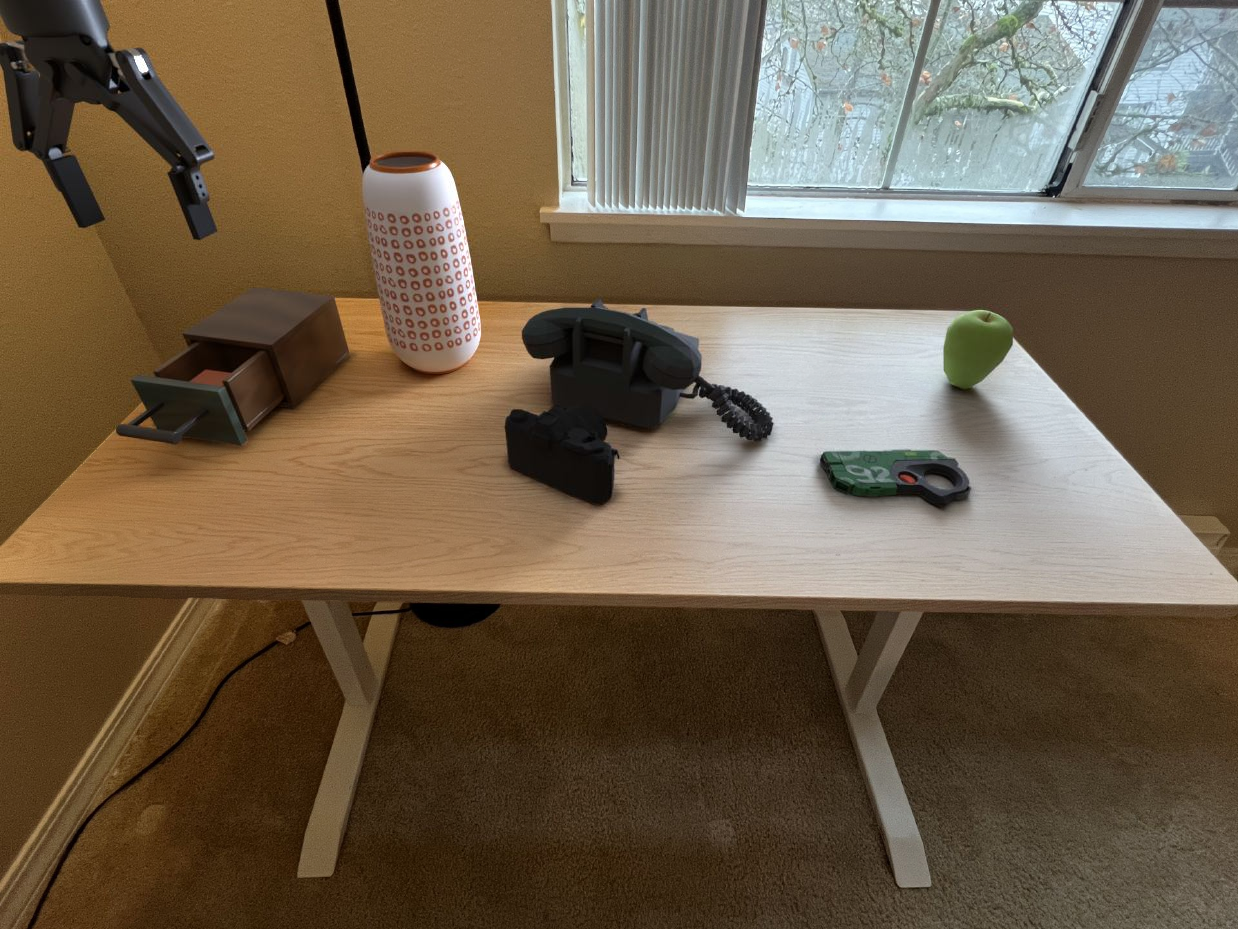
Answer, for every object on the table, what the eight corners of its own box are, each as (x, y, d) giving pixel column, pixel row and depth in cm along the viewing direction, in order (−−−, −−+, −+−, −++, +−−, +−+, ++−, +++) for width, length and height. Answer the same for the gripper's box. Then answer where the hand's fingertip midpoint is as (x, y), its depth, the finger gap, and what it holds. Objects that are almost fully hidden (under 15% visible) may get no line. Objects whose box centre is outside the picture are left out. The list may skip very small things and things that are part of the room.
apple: (928, 364, 99) (955, 294, 92) (987, 376, 97) (1019, 304, 90) (928, 393, 93) (957, 320, 86) (992, 405, 91) (1026, 332, 83)
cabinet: (294, 408, 86) (271, 344, 80) (210, 396, 88) (181, 333, 82) (350, 355, 97) (334, 295, 91) (274, 345, 99) (253, 286, 93)
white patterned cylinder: (374, 367, 95) (322, 162, 77) (436, 330, 104) (403, 140, 86) (443, 392, 90) (406, 180, 72) (502, 352, 99) (481, 155, 81)
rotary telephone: (790, 381, 94) (812, 284, 85) (760, 468, 79) (782, 360, 69) (581, 337, 103) (580, 245, 94) (517, 406, 88) (508, 304, 78)
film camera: (644, 467, 78) (648, 406, 73) (600, 513, 72) (601, 450, 66) (544, 426, 84) (541, 367, 79) (496, 465, 78) (488, 403, 72)
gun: (845, 502, 72) (819, 447, 80) (841, 511, 73) (816, 456, 81) (985, 500, 73) (946, 446, 81) (980, 509, 74) (942, 455, 82)
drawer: (207, 478, 73) (179, 422, 68) (119, 464, 75) (86, 409, 70) (304, 387, 88) (287, 336, 83) (230, 377, 90) (208, 326, 85)
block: (226, 423, 80) (213, 392, 77) (194, 418, 80) (180, 388, 78) (249, 403, 83) (237, 373, 80) (218, 399, 84) (205, 369, 81)
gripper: (200, -19, 56) (276, 228, 69) (-43, -29, 59) (75, 208, 73) (133, -14, 50) (231, 253, 63) (-131, -26, 53) (15, 230, 67)
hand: (148, 229), depth 68 cm, fingers open, 13 cm apart
